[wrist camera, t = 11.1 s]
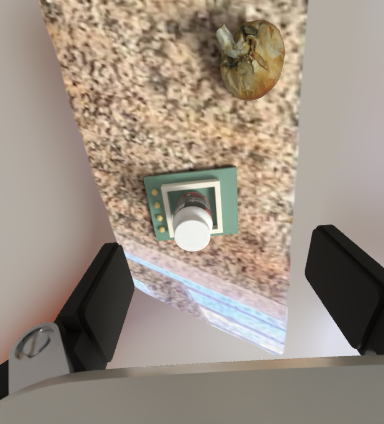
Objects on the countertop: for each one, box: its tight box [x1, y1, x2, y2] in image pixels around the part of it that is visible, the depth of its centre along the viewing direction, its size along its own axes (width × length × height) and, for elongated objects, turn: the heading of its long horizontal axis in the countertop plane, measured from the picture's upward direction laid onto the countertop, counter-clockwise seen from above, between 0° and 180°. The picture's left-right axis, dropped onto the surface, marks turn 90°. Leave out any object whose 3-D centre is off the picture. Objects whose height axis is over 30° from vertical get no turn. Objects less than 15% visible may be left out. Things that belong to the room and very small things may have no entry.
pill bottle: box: [172, 192, 213, 251], centre depth 31 cm, size 6×6×10 cm
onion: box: [216, 20, 285, 101], centre depth 24 cm, size 8×8×8 cm
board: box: [143, 166, 238, 241], centre depth 35 cm, size 12×15×3 cm
